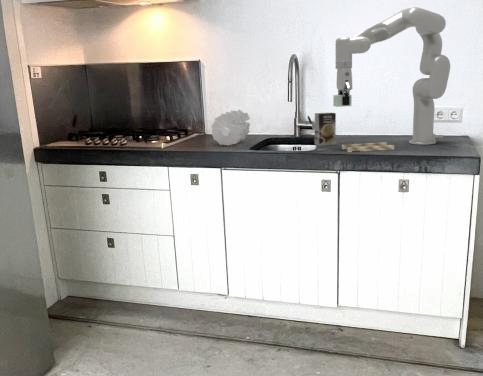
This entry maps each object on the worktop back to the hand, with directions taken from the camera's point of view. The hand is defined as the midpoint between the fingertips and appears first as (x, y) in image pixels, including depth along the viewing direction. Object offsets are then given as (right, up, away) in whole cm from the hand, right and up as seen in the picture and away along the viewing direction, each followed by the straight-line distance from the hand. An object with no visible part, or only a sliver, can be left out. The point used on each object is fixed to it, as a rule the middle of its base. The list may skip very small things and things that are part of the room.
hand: (343, 104), depth 239 cm
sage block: (-1, -1, 0) cm, 1 cm away
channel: (+12, -21, +3) cm, 24 cm away
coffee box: (-5, -17, +22) cm, 28 cm away
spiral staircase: (-53, -15, +39) cm, 68 cm away
